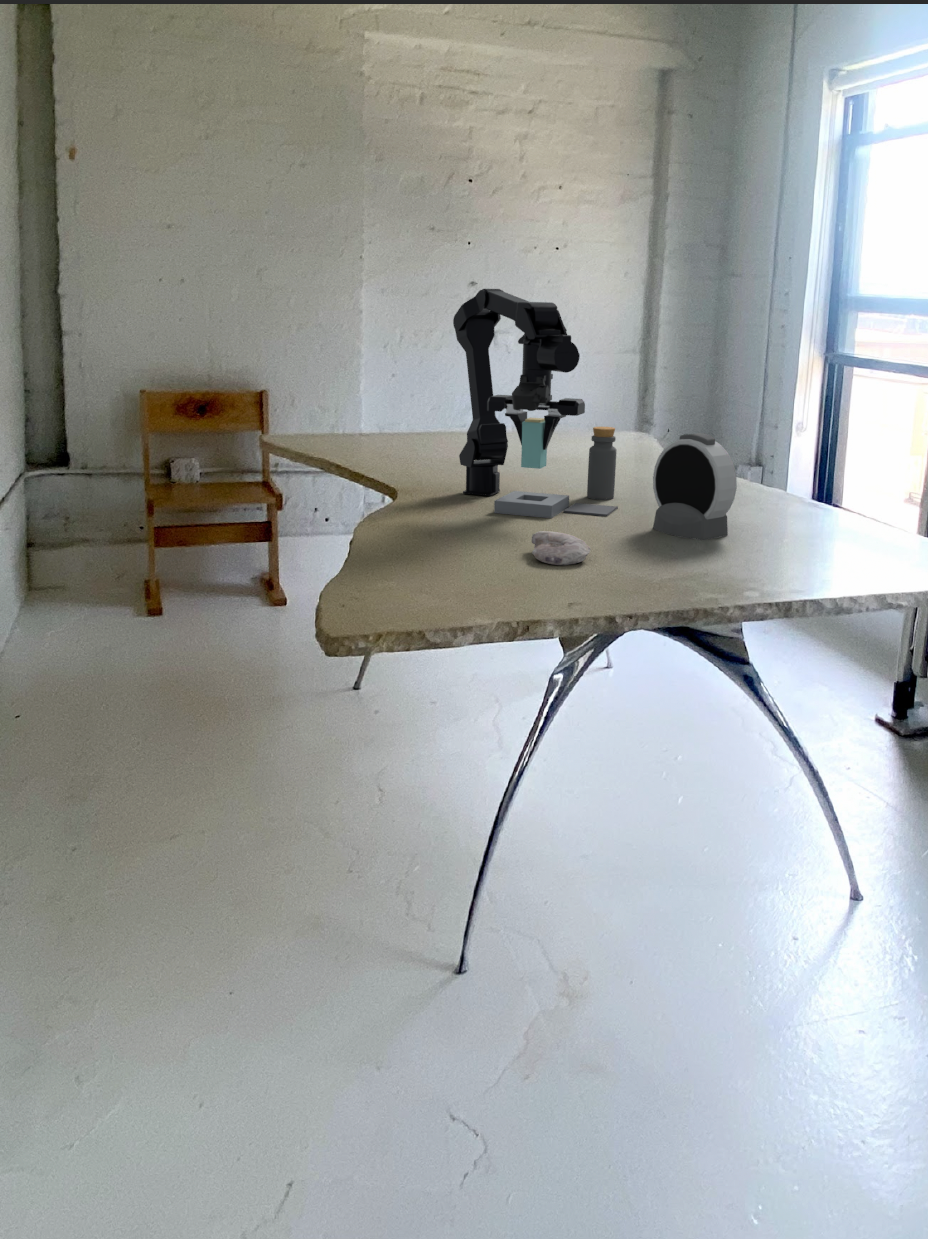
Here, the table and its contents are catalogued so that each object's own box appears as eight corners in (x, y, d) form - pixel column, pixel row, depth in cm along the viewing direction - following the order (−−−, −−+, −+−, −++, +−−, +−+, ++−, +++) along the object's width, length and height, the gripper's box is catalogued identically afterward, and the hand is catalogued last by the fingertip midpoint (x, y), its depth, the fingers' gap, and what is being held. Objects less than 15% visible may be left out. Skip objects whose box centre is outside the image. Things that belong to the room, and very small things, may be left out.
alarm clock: (639, 527, 203) (645, 430, 197) (675, 521, 209) (682, 427, 203) (705, 543, 190) (713, 440, 185) (741, 536, 196) (751, 436, 191)
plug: (521, 467, 213) (522, 419, 210) (527, 464, 216) (529, 417, 214) (540, 468, 211) (541, 420, 209) (546, 465, 215) (548, 418, 212)
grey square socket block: (494, 512, 213) (494, 500, 213) (513, 502, 224) (514, 490, 223) (551, 518, 209) (551, 505, 208) (568, 507, 220) (569, 495, 219)
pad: (563, 512, 215) (563, 510, 215) (575, 504, 223) (575, 502, 223) (606, 516, 212) (606, 514, 212) (617, 508, 220) (618, 506, 219)
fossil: (598, 542, 173) (539, 548, 171) (598, 567, 174) (539, 572, 172) (576, 522, 184) (519, 527, 182) (575, 546, 185) (520, 551, 183)
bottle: (612, 500, 228) (616, 430, 223) (585, 499, 229) (589, 428, 225) (614, 495, 233) (618, 426, 229) (588, 494, 235) (591, 425, 230)
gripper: (477, 369, 204) (476, 451, 209) (571, 373, 198) (567, 457, 202) (497, 366, 214) (495, 444, 219) (587, 370, 208) (583, 450, 212)
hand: (534, 448), depth 213 cm, fingers closed on plug, 4 cm apart
